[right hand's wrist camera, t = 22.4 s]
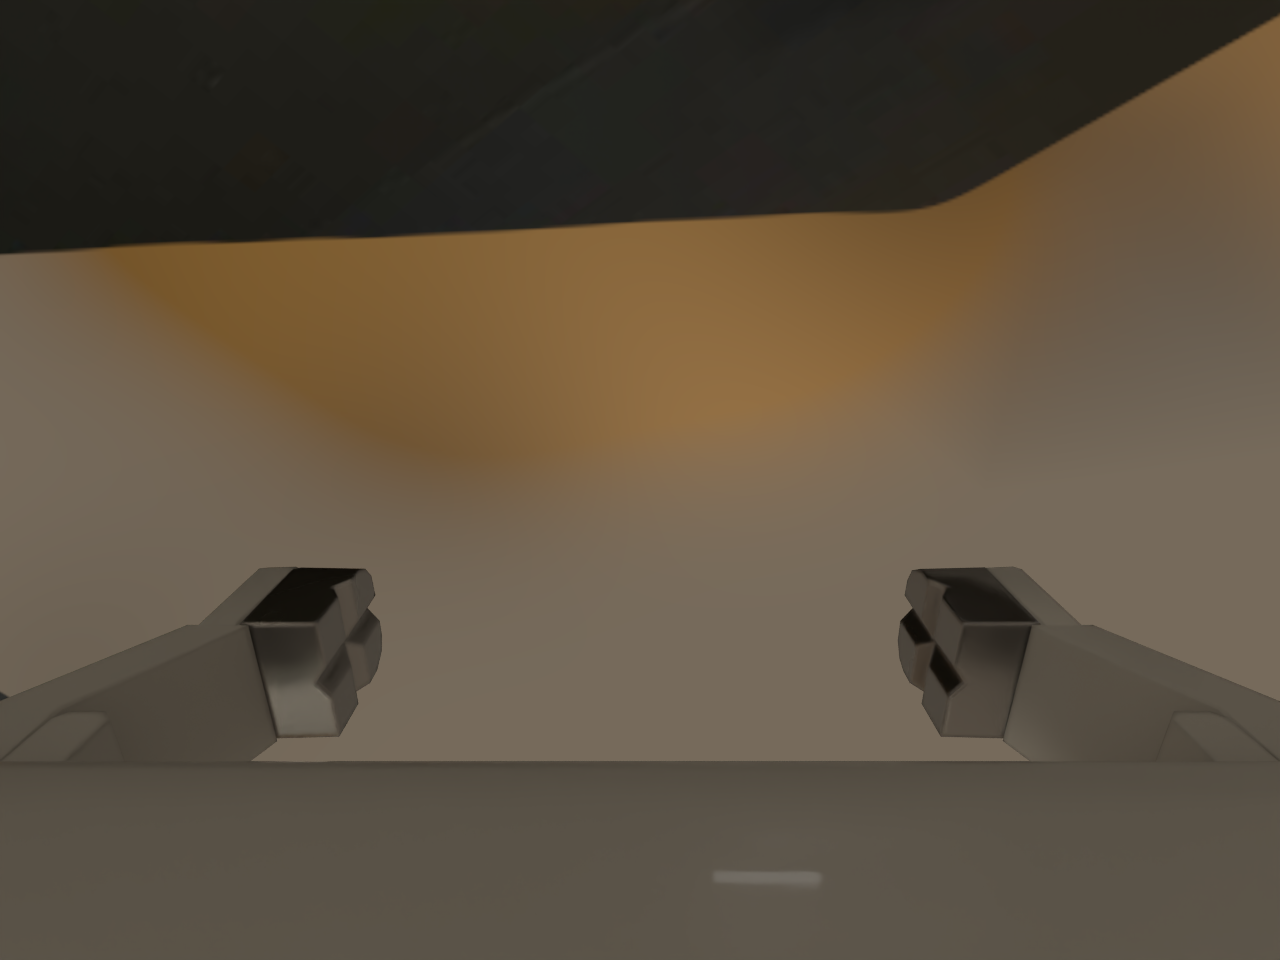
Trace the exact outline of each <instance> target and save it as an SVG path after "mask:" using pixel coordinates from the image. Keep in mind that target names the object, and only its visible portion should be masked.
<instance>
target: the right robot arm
mask: <svg viewBox="0 0 1280 960" xmlns="http://www.w3.org/2000/svg"><path fill="white" fill-rule="evenodd" d="M374 596H375V592H374V587H373V582H372V577H371V575H370V574H369V573H368V572H367V570H366V569H347V568H297V567H274V568H260V569H258V570H257V571H256V572H255V573H254V574H253V575H252V576H251V577H250V578H249V579H247V580H246V581H245V582H244V583H243V584H242V585H241V586H240V587H239V588H238V589H237V590H236V591H235V592H233V593H232V594H231V595H230V596H229V597H228V598H227V599H226V600H225V601H224V602H223V603H222V604H221V605H220V606H218V607H217V608H216V609H215V610H214V611H213V612H212V613H211V614H210V615H209V616H208V617H206V618H205V619H204V620H203V621H202V622H201V623H200V624H199V625H186V626H184V627H181V628H179V629H176V630H174V631H171V632H169V633H167V634H164V635H162V636H159V637H157V638H154V639H152V640H149V641H147V642H145V643H142V644H139V645H137V646H135V647H132V648H130V649H127V650H125V651H122V652H120V653H117V654H115V655H112V656H110V657H107V658H105V659H103V660H100V661H98V662H95V663H93V664H90V665H88V666H85V667H83V668H80V669H78V670H76V671H73V672H71V673H68V674H66V675H63V676H61V677H58V678H56V679H53V680H51V681H48V682H46V683H44V684H41V685H39V686H36V687H34V688H31V689H29V690H26V691H24V692H21V693H19V694H17V695H14V696H12V697H9V698H7V699H4V700H2V701H0V960H1280V701H1278V700H1275V699H1273V698H1270V697H1268V696H1265V695H1263V694H1261V693H1258V692H1256V691H1253V690H1251V689H1248V688H1246V687H1243V686H1241V685H1239V684H1236V683H1234V682H1231V681H1229V680H1226V679H1224V678H1221V677H1219V676H1216V675H1214V674H1212V673H1209V672H1207V671H1204V670H1202V669H1199V668H1197V667H1194V666H1192V665H1189V664H1187V663H1185V662H1182V661H1180V660H1177V659H1175V658H1172V657H1170V656H1167V655H1165V654H1162V653H1160V652H1158V651H1155V650H1153V649H1150V648H1148V647H1145V646H1143V645H1140V644H1138V643H1136V642H1133V641H1131V640H1128V639H1126V638H1123V637H1121V636H1118V635H1116V634H1113V633H1111V632H1109V631H1106V630H1104V629H1101V628H1099V627H1096V626H1094V625H1081V624H1080V623H1079V622H1078V621H1077V620H1076V619H1075V618H1074V617H1072V616H1071V615H1070V614H1069V613H1068V612H1067V611H1066V610H1065V609H1064V608H1063V607H1062V606H1061V605H1060V604H1059V603H1057V602H1056V601H1055V600H1054V599H1053V598H1052V597H1051V596H1050V595H1049V594H1048V593H1047V592H1046V591H1045V590H1043V589H1042V588H1041V587H1040V586H1039V585H1038V584H1037V583H1036V582H1035V581H1034V580H1033V579H1032V578H1031V577H1029V576H1028V575H1027V574H1026V573H1025V572H1024V571H1023V570H1022V569H1019V568H1015V567H996V568H945V569H918V570H912V572H911V574H910V576H909V578H908V581H907V586H906V591H905V596H906V598H907V599H908V601H909V603H910V604H911V606H912V607H913V608H912V609H911V610H910V612H909V613H908V614H907V615H906V616H905V617H904V618H903V619H902V620H901V621H900V628H899V636H898V646H899V657H900V661H901V664H902V668H903V671H904V673H905V675H906V677H907V678H908V680H909V682H910V683H911V684H913V685H914V686H916V687H918V688H919V689H921V690H922V691H924V694H923V700H922V705H923V707H924V708H925V710H926V712H927V713H928V715H929V717H930V719H931V720H932V722H933V724H934V725H935V727H936V729H937V731H938V732H939V734H940V736H941V737H976V738H1003V741H1004V742H1005V743H1006V744H1008V745H1009V746H1010V747H1012V748H1013V749H1014V750H1016V751H1017V752H1019V753H1020V754H1021V755H1022V756H1024V757H1025V758H1026V759H1028V760H1029V761H251V760H253V759H254V758H255V757H257V756H258V755H259V754H261V753H262V752H263V751H265V750H266V749H267V748H268V747H270V746H271V745H273V744H274V743H275V742H276V741H277V738H303V737H339V736H340V734H341V732H342V731H343V729H344V727H345V726H346V724H347V722H348V720H349V719H350V717H351V715H352V714H353V712H354V710H355V708H356V706H357V705H358V699H357V694H356V691H358V690H359V689H361V688H363V687H364V686H366V685H367V684H369V683H370V682H371V680H372V678H373V676H374V675H375V673H376V671H377V668H378V664H379V660H380V655H381V651H382V634H381V627H380V621H379V620H378V619H377V618H376V617H375V616H374V615H373V614H372V613H371V612H370V610H369V609H368V608H367V607H368V606H369V604H370V603H371V601H372V599H373V598H374Z"/></svg>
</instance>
